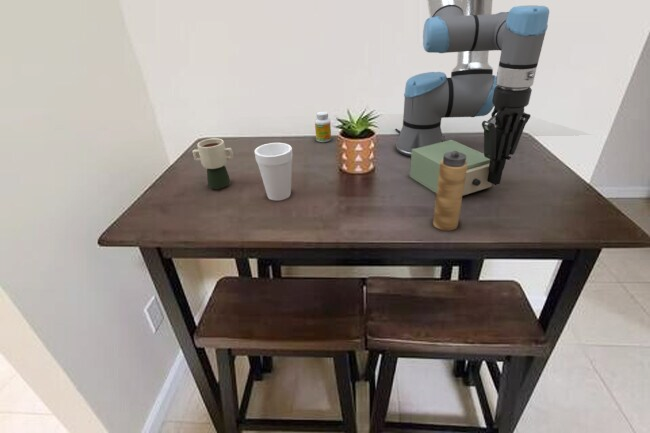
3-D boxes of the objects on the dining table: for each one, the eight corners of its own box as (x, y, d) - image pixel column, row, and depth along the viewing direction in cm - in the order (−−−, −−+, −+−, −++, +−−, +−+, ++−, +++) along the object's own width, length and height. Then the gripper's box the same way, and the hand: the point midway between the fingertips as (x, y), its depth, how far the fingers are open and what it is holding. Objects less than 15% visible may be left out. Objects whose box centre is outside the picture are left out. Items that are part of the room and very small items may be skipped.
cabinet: (488, 187, 101) (494, 158, 96) (447, 200, 96) (451, 170, 92) (448, 166, 113) (451, 139, 109) (409, 176, 108) (411, 149, 104)
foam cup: (268, 206, 98) (261, 159, 91) (256, 192, 105) (249, 147, 98) (302, 197, 101) (297, 151, 94) (288, 183, 108) (283, 140, 101)
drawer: (495, 188, 98) (499, 165, 95) (456, 200, 94) (460, 177, 90) (452, 166, 110) (455, 145, 107) (416, 176, 106) (418, 155, 103)
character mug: (240, 179, 112) (233, 136, 106) (236, 190, 106) (228, 146, 99) (204, 181, 112) (194, 139, 106) (197, 192, 106) (186, 148, 100)
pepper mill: (428, 221, 88) (436, 149, 79) (446, 215, 90) (456, 144, 81) (443, 233, 84) (454, 158, 74) (462, 226, 86) (475, 152, 76)
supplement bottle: (316, 143, 134) (314, 115, 129) (316, 137, 139) (314, 111, 134) (331, 142, 134) (330, 115, 129) (331, 136, 139) (329, 110, 134)
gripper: (505, 94, 78) (485, 195, 91) (549, 85, 83) (524, 182, 95) (478, 87, 84) (462, 182, 97) (520, 79, 89) (500, 171, 101)
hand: (493, 182), depth 96 cm, fingers closed
